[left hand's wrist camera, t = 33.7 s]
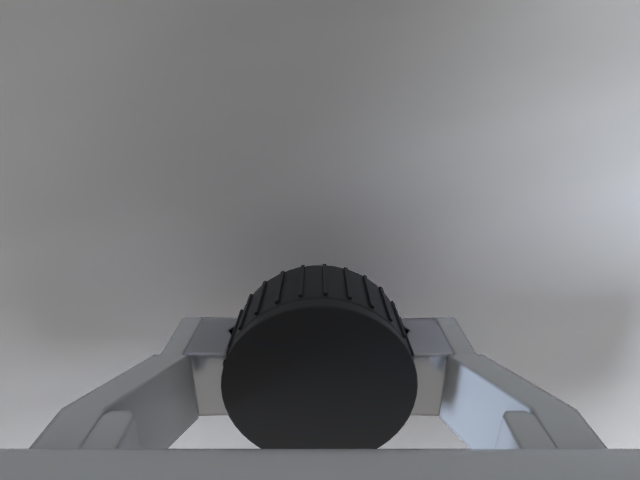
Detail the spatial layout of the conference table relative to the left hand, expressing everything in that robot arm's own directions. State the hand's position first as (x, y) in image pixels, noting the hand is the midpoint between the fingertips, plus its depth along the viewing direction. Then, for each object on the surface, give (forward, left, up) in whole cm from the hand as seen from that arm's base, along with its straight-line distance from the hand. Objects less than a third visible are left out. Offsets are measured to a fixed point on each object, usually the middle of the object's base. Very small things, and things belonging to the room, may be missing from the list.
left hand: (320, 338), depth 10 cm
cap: (0, 0, +2) cm, 2 cm away
